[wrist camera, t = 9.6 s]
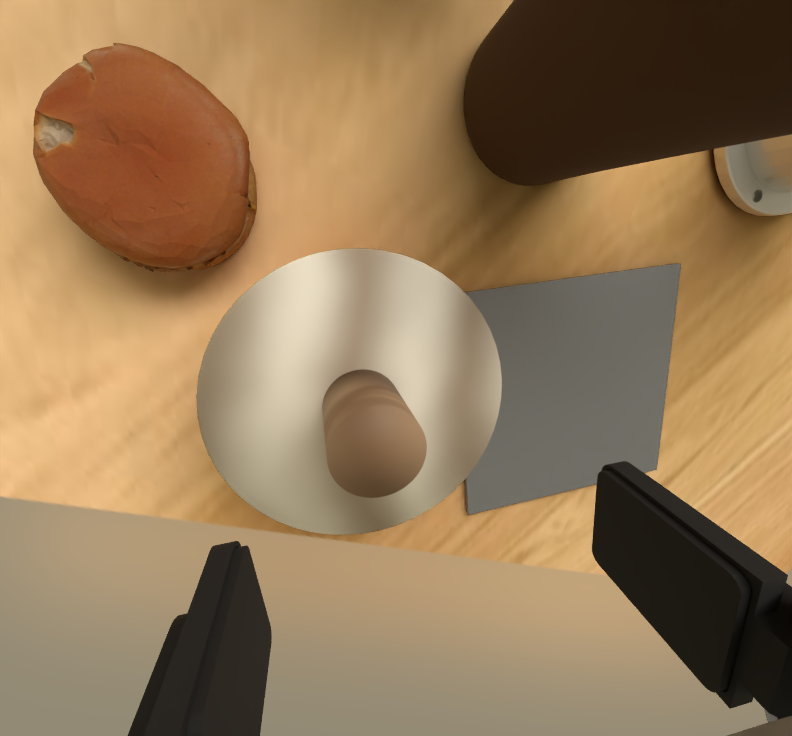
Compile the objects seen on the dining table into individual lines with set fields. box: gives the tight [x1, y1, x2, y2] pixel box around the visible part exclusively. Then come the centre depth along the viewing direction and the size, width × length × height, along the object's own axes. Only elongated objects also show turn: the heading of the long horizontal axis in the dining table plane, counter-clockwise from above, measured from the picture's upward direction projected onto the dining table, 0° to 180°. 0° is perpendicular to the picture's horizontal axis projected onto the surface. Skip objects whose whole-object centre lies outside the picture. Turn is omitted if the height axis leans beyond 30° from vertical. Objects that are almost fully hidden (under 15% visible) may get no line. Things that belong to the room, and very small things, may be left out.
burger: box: [33, 43, 257, 272], centre depth 20 cm, size 10×9×5 cm
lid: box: [197, 248, 502, 535], centre depth 18 cm, size 16×16×6 cm
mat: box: [464, 264, 681, 515], centre depth 31 cm, size 18×18×1 cm
